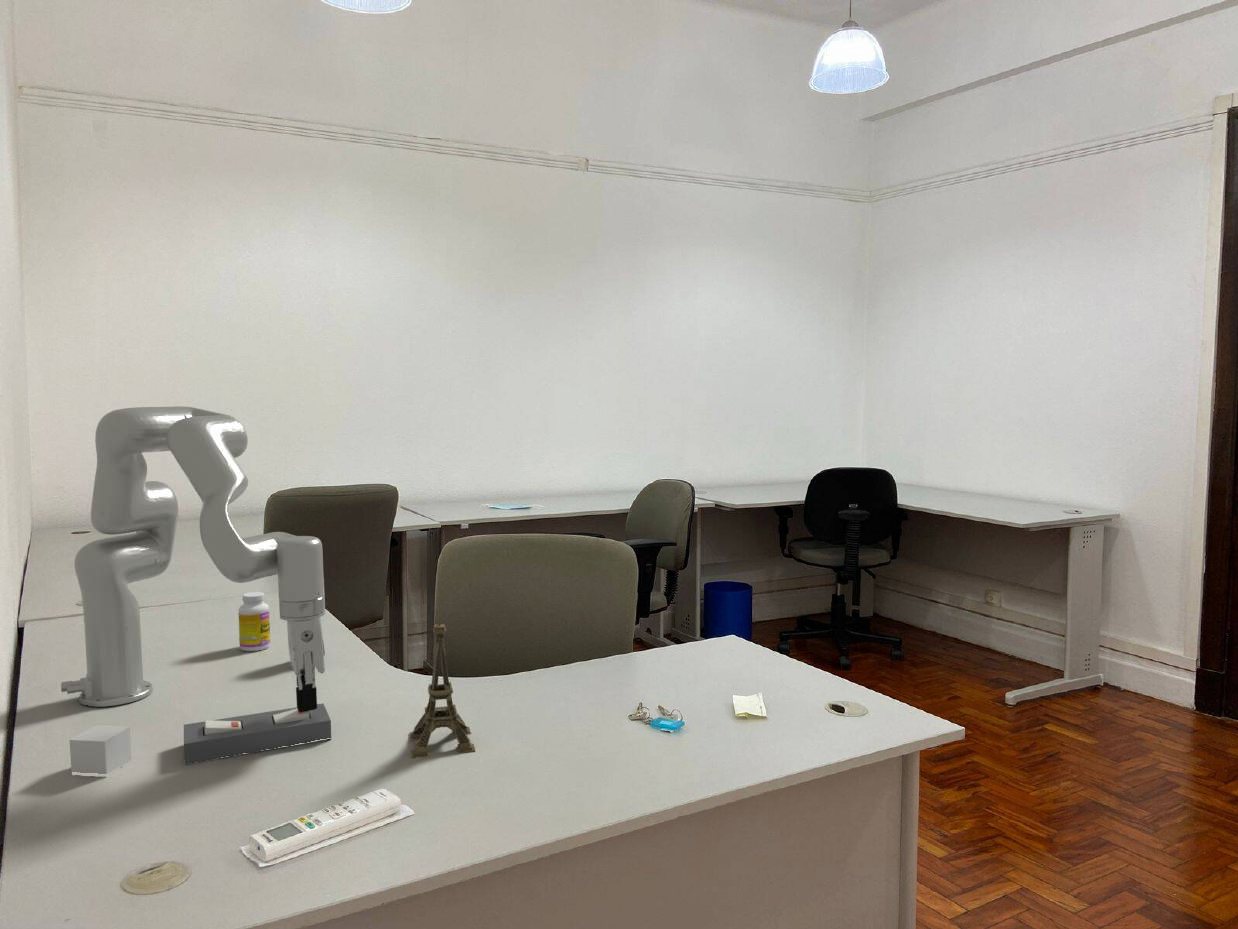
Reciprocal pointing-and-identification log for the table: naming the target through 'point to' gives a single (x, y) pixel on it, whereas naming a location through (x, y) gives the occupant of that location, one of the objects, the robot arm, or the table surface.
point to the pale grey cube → (100, 749)
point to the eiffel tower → (440, 715)
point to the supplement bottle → (254, 623)
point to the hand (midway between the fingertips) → (307, 709)
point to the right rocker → (290, 716)
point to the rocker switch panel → (254, 735)
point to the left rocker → (221, 726)
